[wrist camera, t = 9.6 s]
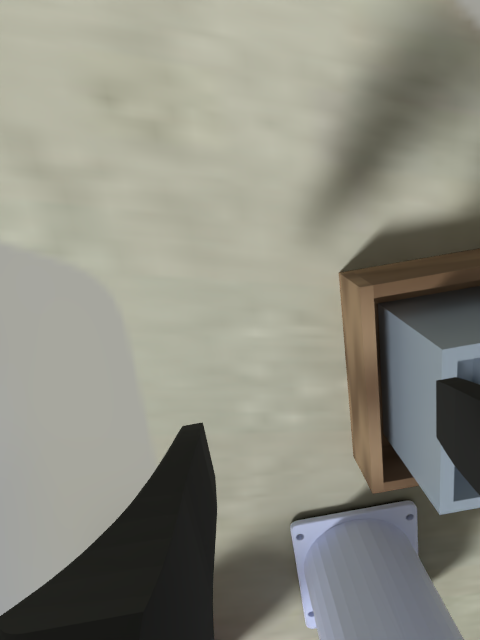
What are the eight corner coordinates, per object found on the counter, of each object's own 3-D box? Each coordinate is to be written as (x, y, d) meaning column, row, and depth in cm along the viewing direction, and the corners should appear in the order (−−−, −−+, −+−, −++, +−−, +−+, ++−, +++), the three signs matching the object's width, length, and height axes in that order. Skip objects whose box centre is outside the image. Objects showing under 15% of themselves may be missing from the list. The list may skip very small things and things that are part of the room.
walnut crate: (495, 426, 25) (539, 464, 21) (351, 452, 24) (372, 493, 21) (506, 241, 21) (561, 252, 18) (336, 271, 21) (359, 287, 17)
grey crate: (474, 417, 23) (559, 492, 18) (383, 433, 23) (439, 514, 18) (480, 285, 21) (583, 325, 15) (377, 303, 21) (441, 349, 15)
